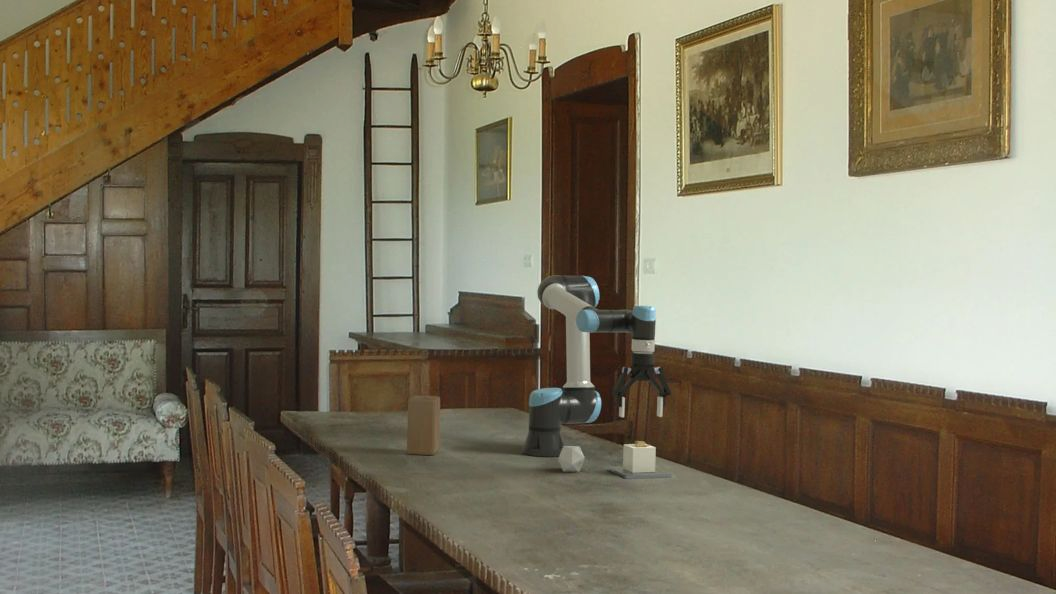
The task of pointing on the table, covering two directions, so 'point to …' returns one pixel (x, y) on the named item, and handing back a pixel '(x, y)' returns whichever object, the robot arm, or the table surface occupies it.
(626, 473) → the base plate
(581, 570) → the table surface
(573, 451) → the die
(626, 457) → the cream open box
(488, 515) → the table surface
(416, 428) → the wooden block
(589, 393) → the robot arm
